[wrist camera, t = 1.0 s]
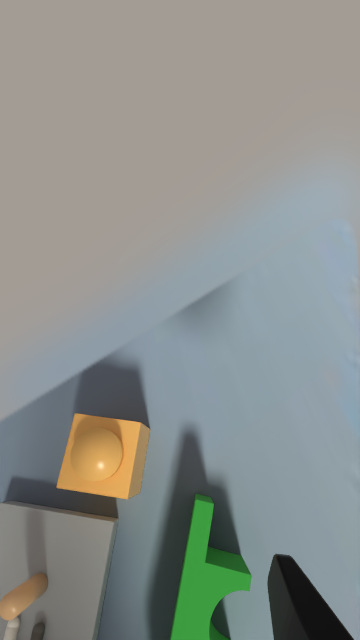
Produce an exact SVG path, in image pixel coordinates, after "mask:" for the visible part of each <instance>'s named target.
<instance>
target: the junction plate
mask: <svg viewBox="0 0 360 640" xmlns="http://www.w3.org/2000/svg"><path fill="white" fill-rule="evenodd" d="M118 520H119V519H118V518H112V517H106V516H100V515H94V514H88V513H82V512H76V511H70V510H64V509H58V508H52V507H46V506H40V505H34V504H28V503H22V502H16V501H8V502H3V503H0V640H97V636H98V631H99V625H100V620H101V614H102V608H103V603H104V597H105V592H106V586H107V581H108V575H109V570H110V564H111V558H112V553H113V547H114V542H115V536H116V531H117V525H118Z"/></svg>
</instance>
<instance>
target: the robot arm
mask: <svg viewBox="0 0 360 640" xmlns="http://www.w3.org/2000/svg"><path fill="white" fill-rule="evenodd" d="M268 594H269V602H270V611H271V619H272V627H273V635H274V640H354V639H353V638H352V636H351V635H350V634H349V632H348V631H347V630H346V628H345V627H344V626H343V624H342V623H341V622H340V620H339V619H338V618H337V616H336V615H335V614H334V612H333V611H332V610H331V608H330V607H329V606H328V604H327V603H326V602H325V600H324V599H323V598H322V596H321V595H320V594H319V592H318V591H317V590H316V588H315V587H314V586H313V584H312V583H311V582H310V580H309V579H308V578H307V576H306V575H305V574H304V572H303V571H302V570H301V568H300V567H299V566H298V564H297V563H296V562H295V560H294V559H293V558H292V557H291V556H289V555H283V554H275V555H274V557H273V560H272V564H271V567H270V571H269V575H268Z"/></svg>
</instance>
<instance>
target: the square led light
mask: <svg viewBox="0 0 360 640" xmlns="http://www.w3.org/2000/svg"><path fill="white" fill-rule="evenodd" d="M149 434H150V429H149V428H148V427H146V426H145V425H144V424H142V423H141V422H134V421H127V420H120V419H112V418H105V417H98V416H91V415H84V414H76V413H75V415H74V419H73V423H72V427H71V431H70V435H69V439H68V443H67V447H66V451H65V455H64V459H63V463H62V467H61V471H60V475H59V479H58V483H57V487H56V488H61V489H67V490H73V491H79V492H85V493H92V494H98V495H104V496H110V497H117V498H123V499H129V498H131V497H133V496H135V495H137V494H139V493H140V490H141V484H142V477H143V471H144V465H145V459H146V453H147V447H148V441H149Z"/></svg>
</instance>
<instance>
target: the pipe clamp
mask: <svg viewBox="0 0 360 640" xmlns="http://www.w3.org/2000/svg"><path fill="white" fill-rule="evenodd" d="M213 508H214V503H213V501H212V499H211V497H207V496H203V495H199V494H195V499H194V505H193V510H192V516H191V522H190V527H189V533H188V539H187V544H186V550H185V555H184V561H183V567H182V572H181V578H180V583H179V589H178V595H177V600H176V606H175V612H174V617H173V623H172V628H171V634H170V640H231V639H229V638H226V637H225V636H223V635H222V634H220V633H219V632H218V631H217V630H216V628H215V627H214V626H213V624H212V622H211V616H212V613H213V611H214V609H215V607H216V605H217V604H218V602H219V601H220V600H221V599H222V598H223V597H224V596H226V595H227V594H229V593H231V592H234V591H238V590H245V591H250V582H251V574H250V572H249V570H248V568H247V566H246V564H245V562H244V560H243V558H242V556H241V555H237V554H233V553H230V552H226V551H222V550H218V549H215V548H211V547H208V540H209V534H210V527H211V521H212V515H213Z"/></svg>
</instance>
